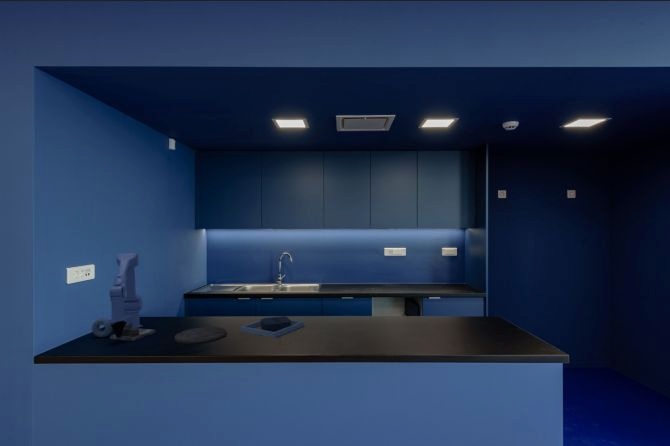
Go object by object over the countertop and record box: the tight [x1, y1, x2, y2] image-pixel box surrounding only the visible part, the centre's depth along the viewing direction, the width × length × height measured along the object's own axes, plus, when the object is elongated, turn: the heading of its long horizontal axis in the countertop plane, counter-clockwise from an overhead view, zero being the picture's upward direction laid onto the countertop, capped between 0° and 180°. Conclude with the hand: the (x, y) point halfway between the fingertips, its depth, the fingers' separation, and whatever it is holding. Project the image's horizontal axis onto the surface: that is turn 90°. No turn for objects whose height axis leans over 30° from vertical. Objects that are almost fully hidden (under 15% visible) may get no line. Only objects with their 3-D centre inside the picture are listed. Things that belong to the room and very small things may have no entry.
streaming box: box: [260, 315, 292, 332], centre depth 204 cm, size 14×14×5 cm
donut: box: [91, 317, 113, 338], centre depth 197 cm, size 10×4×10 cm, turn 93°
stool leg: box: [122, 328, 140, 336], centre depth 194 cm, size 12×3×4 cm, turn 72°
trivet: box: [174, 326, 227, 345], centre depth 194 cm, size 25×25×2 cm
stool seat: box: [109, 324, 157, 342], centre depth 198 cm, size 15×15×4 cm
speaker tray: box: [240, 316, 305, 339], centre depth 205 cm, size 24×24×2 cm
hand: (118, 336), depth 188 cm, fingers closed
